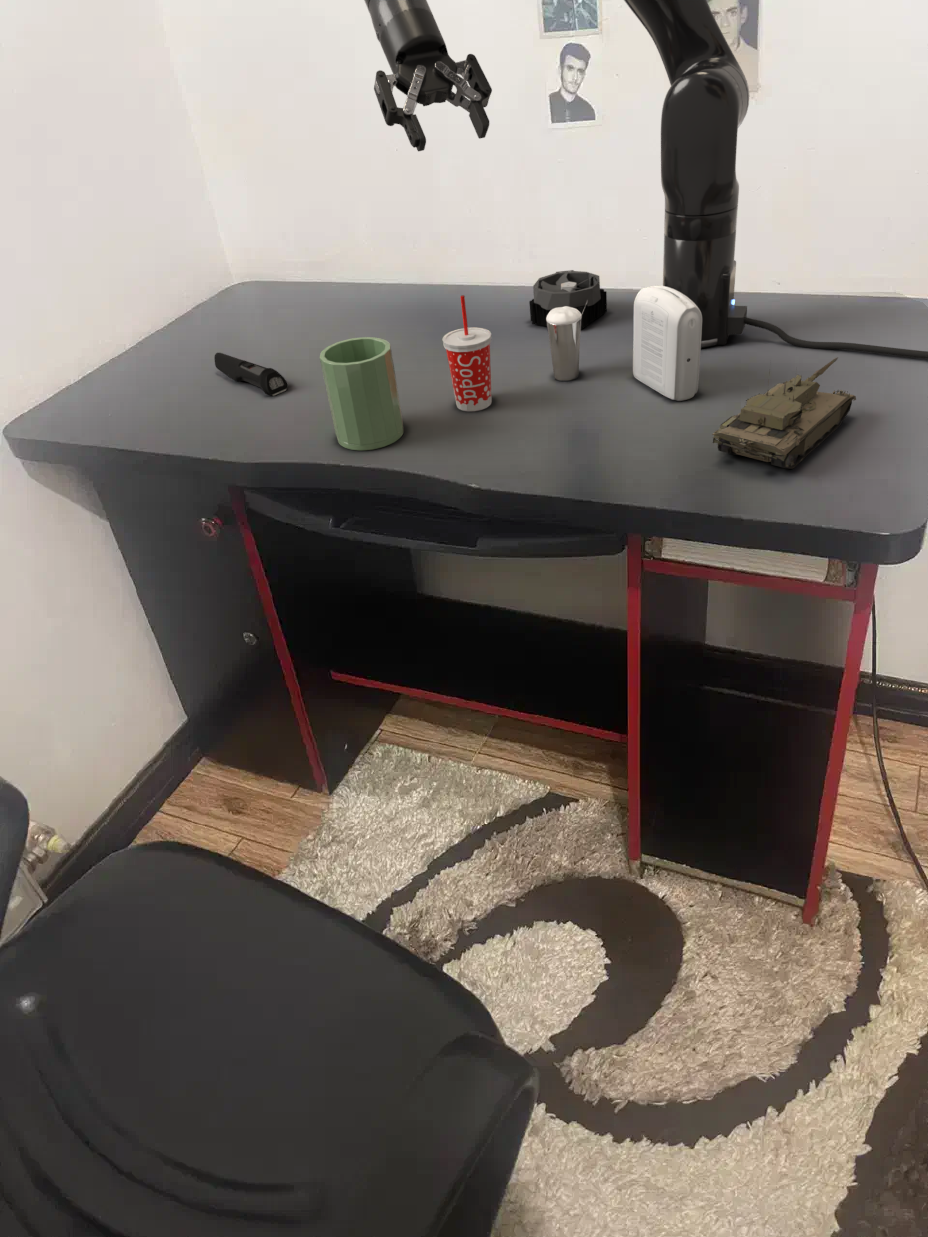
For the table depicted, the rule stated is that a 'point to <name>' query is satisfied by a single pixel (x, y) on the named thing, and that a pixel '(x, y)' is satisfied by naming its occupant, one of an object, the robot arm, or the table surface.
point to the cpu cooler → (568, 296)
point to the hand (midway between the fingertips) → (453, 140)
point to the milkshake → (564, 341)
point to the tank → (784, 422)
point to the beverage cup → (469, 365)
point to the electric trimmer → (251, 373)
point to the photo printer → (667, 342)
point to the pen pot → (362, 393)
